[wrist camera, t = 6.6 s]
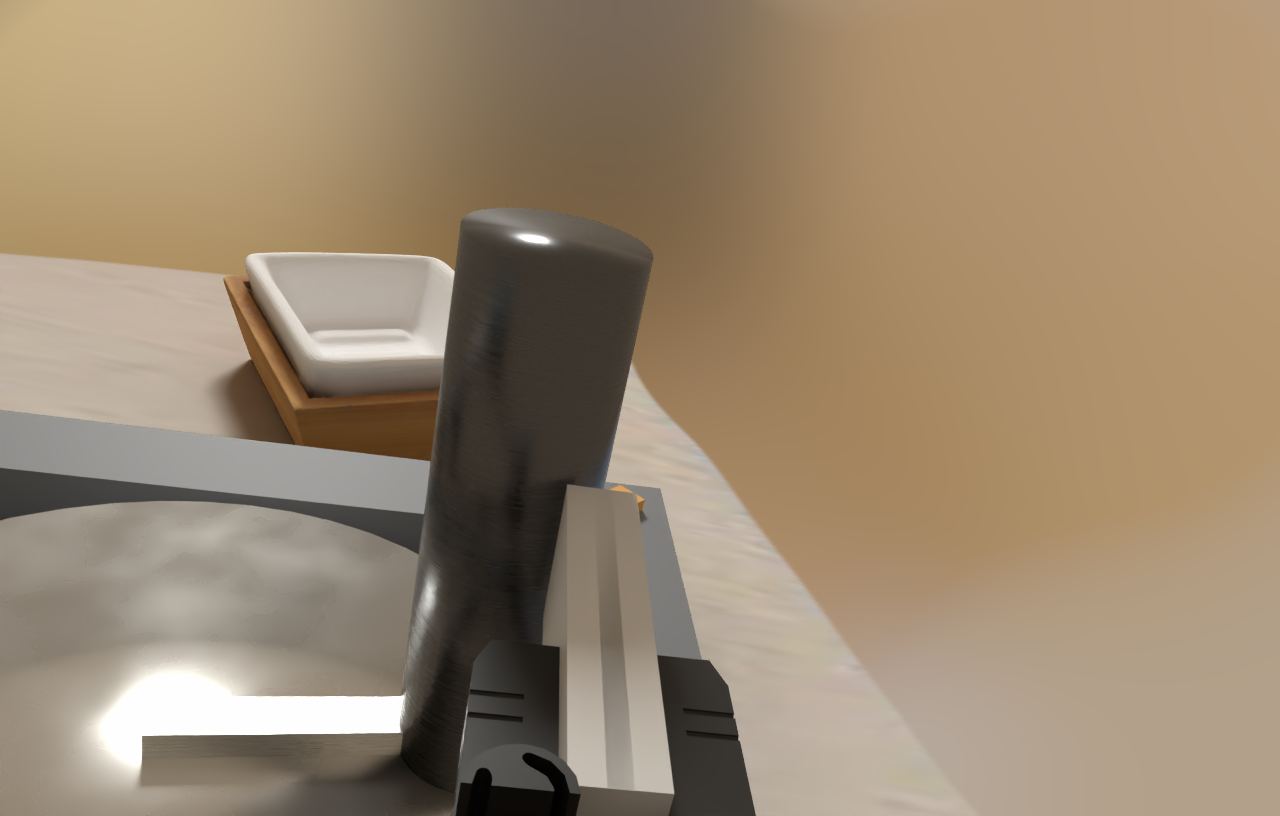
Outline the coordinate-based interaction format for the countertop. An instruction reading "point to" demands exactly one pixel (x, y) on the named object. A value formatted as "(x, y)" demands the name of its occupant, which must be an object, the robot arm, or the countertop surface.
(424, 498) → the tray
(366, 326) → the soap dish
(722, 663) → the countertop surface
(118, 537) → the dial
